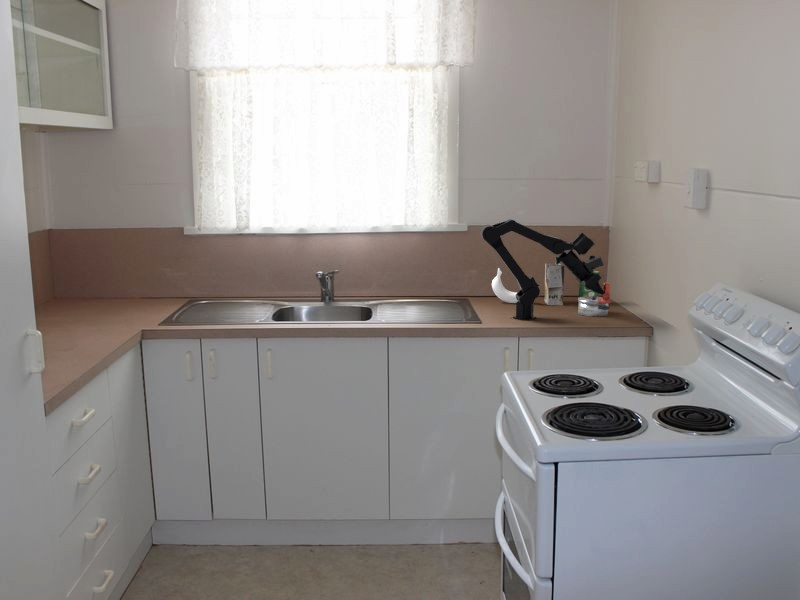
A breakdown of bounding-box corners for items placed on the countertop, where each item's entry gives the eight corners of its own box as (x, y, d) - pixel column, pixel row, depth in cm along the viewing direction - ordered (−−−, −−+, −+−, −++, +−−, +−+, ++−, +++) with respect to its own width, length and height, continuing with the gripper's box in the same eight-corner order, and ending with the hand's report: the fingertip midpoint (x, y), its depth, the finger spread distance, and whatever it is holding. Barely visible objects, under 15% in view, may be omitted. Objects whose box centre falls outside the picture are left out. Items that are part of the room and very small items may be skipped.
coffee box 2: (595, 302, 333) (596, 270, 331) (599, 303, 331) (600, 271, 328) (578, 303, 331) (579, 271, 328) (581, 304, 328) (583, 272, 326)
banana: (538, 305, 328) (539, 269, 325) (491, 304, 330) (491, 268, 327) (538, 302, 332) (539, 267, 330) (491, 301, 335) (492, 266, 332)
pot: (570, 311, 315) (570, 299, 314) (594, 309, 319) (594, 297, 318) (593, 319, 301) (593, 307, 300) (618, 316, 305) (618, 305, 304)
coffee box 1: (563, 305, 327) (564, 265, 324) (547, 305, 327) (548, 265, 324) (559, 301, 336) (561, 262, 332) (543, 301, 336) (545, 262, 333)
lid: (571, 299, 313) (572, 278, 311) (597, 297, 317) (598, 276, 315) (594, 306, 299) (595, 284, 297) (621, 304, 303) (622, 282, 301)
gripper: (596, 251, 288) (626, 282, 290) (585, 246, 307) (613, 275, 309) (573, 273, 290) (603, 304, 292) (563, 266, 308) (591, 295, 310)
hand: (603, 293), depth 300 cm, fingers closed
